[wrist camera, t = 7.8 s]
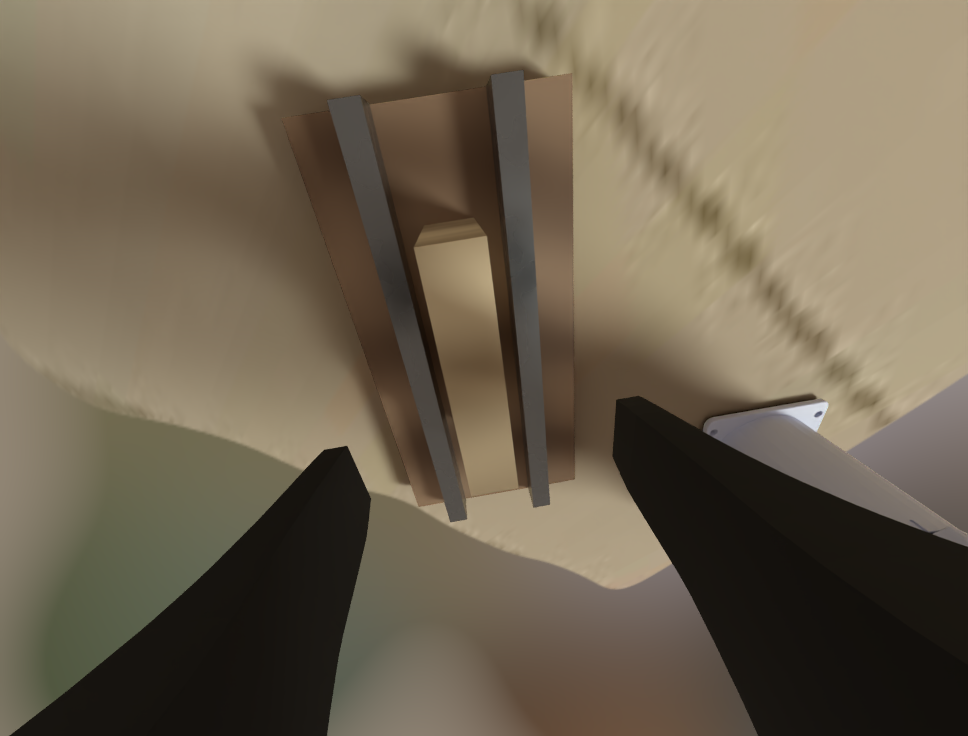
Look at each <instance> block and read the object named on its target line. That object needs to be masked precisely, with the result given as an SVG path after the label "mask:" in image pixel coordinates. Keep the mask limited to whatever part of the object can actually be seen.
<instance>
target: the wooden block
mask: <svg viewBox="0 0 968 736" xmlns="http://www.w3.org/2000/svg"><path fill="white" fill-rule="evenodd" d="M414 251H415V255H416V260H417V264H418V268H419V273H420V277H421V281H422V286H423V290H424V294H425V299H426V303H427V307H428V312H429V316H430V320H431V325H432V329H433V333H434V338H435V342H436V346H437V351H438V355H439V359H440V364H441V368H442V372H443V377H444V381H445V385H446V390H447V394H448V398H449V402H450V407H451V411H452V415H453V420H454V424H455V428H456V433H457V437H458V441H459V446H460V450H461V454H462V459H463V463H464V467H465V472H466V476H467V480H468V485H469V489H470V493H471V496H477V495H483V494H488V493H494V492H500V491H505V490H511V489H517V488H519V487H518V479H517V472H516V464H515V456H514V448H513V440H512V432H511V424H510V416H509V408H508V400H507V392H506V384H505V376H504V368H503V360H502V352H501V344H500V337H499V329H498V321H497V313H496V305H495V297H494V289H493V281H492V273H491V265H490V257H489V249H488V241H487V235H486V234H485V233H484V231H483V230H482V228H481V227H480V226H479V224H478V223H477V221H476V220H475V219H474V218H467V219H461V220H455V221H449V222H443V223H436V224H430V225H424V227H423V229H422V231H421V233H420V235H419V237H418V240H417V242H416V244H415V246H414Z"/></svg>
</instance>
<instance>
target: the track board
mask: <svg viewBox="0 0 968 736" xmlns="http://www.w3.org/2000/svg"><path fill="white" fill-rule="evenodd" d="M327 102H328V106H329V109H330V111H324V112H318V113H311V114H305V115H298V116H292V117H285V118H282V121H283V124H284V127H285V129H286V132H287V135H288V138H289V141H290V144H291V146H292V149H293V152H294V155H295V158H296V161H297V163H298V166H299V169H300V172H301V175H302V178H303V180H304V183H305V186H306V189H307V192H308V195H309V197H310V200H311V203H312V206H313V209H314V212H315V214H316V217H317V220H318V223H319V226H320V229H321V231H322V234H323V237H324V240H325V243H326V246H327V248H328V251H329V254H330V257H331V260H332V263H333V265H334V268H335V271H336V274H337V277H338V280H339V282H340V285H341V288H342V291H343V294H344V297H345V299H346V302H347V305H348V308H349V311H350V314H351V316H352V319H353V322H354V325H355V328H356V331H357V333H358V336H359V339H360V342H361V345H362V348H363V350H364V353H365V356H366V359H367V362H368V365H369V367H370V370H371V373H372V376H373V379H374V382H375V384H376V387H377V390H378V393H379V396H380V399H381V401H382V404H383V407H384V410H385V413H386V416H387V418H388V421H389V424H390V427H391V430H392V433H393V435H394V438H395V441H396V444H397V447H398V450H399V452H400V455H401V458H402V461H403V464H404V467H405V469H406V472H407V475H408V478H409V481H410V484H411V486H412V489H413V492H414V495H415V498H416V501H417V503H418V506H419V507H420V506H426V505H432V504H438V503H443V502H445V506H446V509H447V512H448V516H449V519H450V522H455V521H460V520H466V519H467V510H466V498H472V497H477V496H483V495H489V494H494V493H500V492H506V491H511V490H517V489H523V488H528V489H529V493H530V496H531V500H532V504H533V508H534V507H539V506H545V505H550V497H549V484H551V483H557V482H562V481H568V480H574V479H575V456H574V291H573V126H572V73H570V74H564V75H557V76H551V77H544V78H538V79H531V80H525V81H524V70H519V71H513V72H506V73H500V74H493V75H491V76H490V78H489V81H488V83H487V85H486V87H480V88H473V89H467V90H460V91H454V92H447V93H441V94H434V95H428V96H421V97H415V98H408V99H402V100H395V101H389V102H382V103H376V104H369V103H368V102H367V101H366V100H365V99H363V98H362V97H361V96H360V95H356V96H350V97H343V98H337V99H330V100H327ZM467 218H474V219H475V220H476V221H477V223H478V224H479V226H480V227H481V228H482V230H483V231H484V233H485V234H486V235H487V241H488V249H489V257H490V265H491V273H492V281H493V289H494V297H495V305H496V313H497V321H498V329H499V337H500V344H501V352H502V360H503V368H504V376H505V384H506V392H507V400H508V408H509V416H510V424H511V432H512V440H513V448H514V456H515V464H516V472H517V479H518V487H519V488H517V489H511V490H505V491H500V492H494V493H488V494H483V495H477V496H471V493H470V489H469V485H468V480H467V476H466V472H465V467H464V463H463V459H462V454H461V450H460V446H459V441H458V437H457V433H456V428H455V424H454V420H453V415H452V411H451V407H450V402H449V398H448V394H447V390H446V385H445V381H444V377H443V372H442V368H441V364H440V359H439V355H438V351H437V346H436V342H435V338H434V333H433V329H432V325H431V320H430V316H429V312H428V307H427V303H426V299H425V294H424V290H423V286H422V281H421V277H420V273H419V268H418V264H417V260H416V255H415V251H414V246H415V244H416V242H417V240H418V237H419V235H420V233H421V231H422V229H423V227H424V225H430V224H436V223H443V222H449V221H455V220H461V219H467Z"/></svg>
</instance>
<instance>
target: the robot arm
mask: <svg viewBox="0 0 968 736" xmlns="http://www.w3.org/2000/svg"><path fill="white" fill-rule="evenodd" d="M827 408H828V402H826V401H825V400H823V399H815V400H809V401H803V402H797V403H792V404H786V405H780V406H774V407H769V408H763V409H757V410H751V411H746V412H740V413H734V414H728V415H723V416H717V417H712V418H709V419H708V420H707V421H706V422H705V424H704V427H703V431H701V430H699V429H697V428H696V427H694V426H692V425H690V424H689V423H687V422H685V421H683V420H682V419H680V418H678V417H676V416H675V415H673V414H671V413H669V412H668V411H666V410H664V409H662V408H660V407H659V406H657V405H655V404H653V403H652V402H650V401H648V400H646V399H644V398H642V397H640V396H636V397H630V398H624V399H618V400H616V413H615V428H614V442H613V459H614V461H615V463H616V465H617V468H618V470H619V472H620V475H621V477H622V479H623V481H624V483H625V485H626V487H627V489H628V491H629V493H630V495H631V496H632V498H633V500H634V501H635V503H636V505H637V506H638V508H639V510H640V511H641V513H642V515H643V516H644V518H645V520H646V521H647V523H648V525H649V526H650V528H651V529H652V531H653V533H654V534H655V536H656V538H657V539H658V541H659V542H660V544H661V546H662V547H663V549H664V551H665V552H666V554H667V555H668V557H669V559H670V560H671V562H672V564H673V565H674V566H675V568H676V570H677V572H678V573H679V575H680V577H681V579H682V580H683V582H684V584H685V586H686V587H687V589H688V591H689V593H690V595H691V596H692V598H693V600H694V602H695V604H696V606H697V608H698V610H699V612H700V614H701V616H702V618H703V620H704V622H705V624H706V626H707V628H708V630H709V632H710V634H711V636H712V638H713V640H714V642H715V644H716V647H717V648H718V651H719V652H720V655H721V657H722V659H723V661H724V663H725V665H726V667H727V669H728V672H729V674H730V676H731V678H732V680H733V682H734V684H735V686H736V688H737V690H738V692H739V694H740V697H741V699H742V701H743V703H744V705H745V708H746V710H747V712H748V714H749V716H750V718H751V721H752V723H753V725H754V727H755V730H756V732H757V734H758V736H968V534H967V533H965V532H963V531H961V530H959V529H958V528H956V527H955V526H953V525H952V524H950V523H949V522H947V521H946V520H944V519H943V518H942V517H940V516H939V515H937V514H936V513H934V512H933V511H931V510H930V509H928V508H927V507H925V506H924V505H922V504H921V503H920V502H918V501H917V500H915V499H914V498H912V497H911V496H909V495H908V494H906V493H905V492H903V491H902V490H900V489H899V488H898V487H896V486H895V485H893V484H892V483H890V482H889V481H887V480H886V479H884V478H883V477H882V476H880V475H879V474H877V473H876V472H874V471H872V470H871V469H870V468H868V467H867V466H865V465H864V464H862V463H861V462H860V461H858V460H856V459H855V458H854V457H852V456H851V455H849V454H848V453H846V452H845V451H843V450H842V449H841V448H839V447H838V446H836V445H835V444H833V443H832V442H830V441H829V440H827V439H826V438H824V437H823V436H822V435H820V434H819V433H817V430H818V428H819V426H820V423H821V421H822V419H823V417H824V415H825V412H826V410H827ZM370 502H371V498H370V496H369V493H368V491H367V489H366V487H365V484H364V482H363V480H362V478H361V475H360V473H359V471H358V469H357V467H356V464H355V462H354V460H353V458H352V456H351V453H350V451H349V449H348V447H347V446H344V447H338V448H332V449H326V450H324V451H323V452H322V453H321V454H320V455H318V456H317V458H316V459H315V460H314V461H313V462H312V463H311V464H310V465H309V466H308V467H307V468H306V469H305V470H304V471H303V472H302V474H301V475H300V476H299V477H298V478H297V479H296V480H295V481H294V482H293V483H292V485H291V486H290V487H289V488H288V489H287V490H286V491H285V492H284V493H283V494H282V495H281V496H280V497H279V498H278V499H277V501H276V502H275V503H274V504H273V505H272V506H271V507H270V508H269V509H268V510H267V511H266V512H265V514H264V515H262V517H261V518H260V519H259V520H258V521H257V522H256V523H255V524H254V525H253V526H252V527H251V528H250V529H249V530H248V531H247V532H246V533H245V534H244V535H243V536H242V537H241V538H240V539H239V540H238V541H237V542H236V543H235V544H234V545H233V546H232V547H231V548H230V549H229V550H228V551H227V552H226V553H225V554H224V555H223V556H222V557H221V558H220V559H219V560H218V561H217V562H216V563H215V564H214V565H213V566H212V567H211V568H210V569H209V570H208V571H207V572H206V573H204V574H203V576H201V577H200V578H199V579H198V580H197V581H196V582H195V583H194V584H193V585H192V586H190V588H188V589H187V590H186V591H185V592H184V593H183V594H182V595H181V596H179V597H178V598H177V599H176V600H175V601H174V602H173V603H172V604H170V605H169V606H168V607H167V608H166V609H165V610H164V611H163V612H161V613H160V614H159V615H158V616H157V617H156V618H155V619H154V620H152V621H151V622H150V623H149V624H148V625H147V626H146V627H144V628H143V629H142V630H141V631H140V632H138V634H136V635H135V636H134V637H132V638H131V639H130V640H129V641H127V642H126V643H125V644H124V645H123V646H121V647H120V648H119V649H118V650H117V651H115V652H114V653H113V654H112V655H111V656H109V657H108V658H107V659H106V660H104V661H103V662H102V663H101V664H99V665H98V666H97V667H96V668H95V669H93V670H92V671H91V672H90V673H89V674H87V675H86V676H85V677H84V678H83V679H81V680H80V681H79V682H78V683H76V684H75V685H74V686H73V687H71V688H70V689H69V690H68V691H67V692H65V693H64V694H63V695H62V696H60V697H59V698H58V699H56V700H55V701H54V702H53V703H51V704H50V705H49V706H47V707H46V708H45V709H44V710H42V711H41V712H40V713H38V714H37V715H36V716H34V717H33V718H32V719H31V720H29V721H28V722H27V723H26V724H24V725H23V726H21V727H20V728H19V729H18V730H16V731H15V732H14V733H13V734H11V735H10V736H327V730H328V723H329V715H330V709H331V702H332V696H333V689H334V683H335V675H336V669H337V663H338V657H339V652H340V647H341V643H342V637H343V633H344V629H345V625H346V621H347V616H348V612H349V608H350V604H351V600H352V596H353V592H354V588H355V584H356V579H357V575H358V571H359V567H360V563H361V558H362V554H363V550H364V546H365V541H366V537H367V529H368V521H369V511H370Z"/></svg>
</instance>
